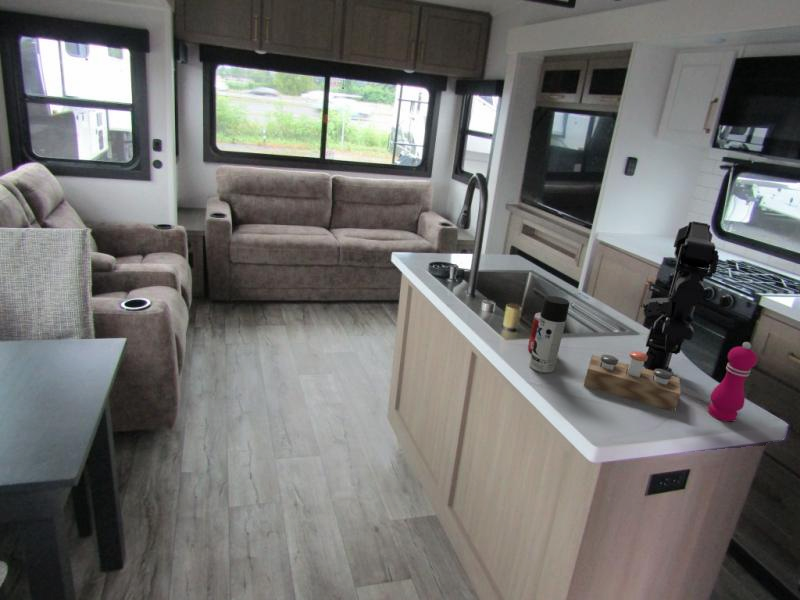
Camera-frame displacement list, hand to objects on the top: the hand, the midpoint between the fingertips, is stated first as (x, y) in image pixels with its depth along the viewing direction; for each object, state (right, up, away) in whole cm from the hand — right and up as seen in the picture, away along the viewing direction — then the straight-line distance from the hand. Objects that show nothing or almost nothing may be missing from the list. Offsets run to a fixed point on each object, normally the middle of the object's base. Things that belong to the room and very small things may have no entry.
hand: (667, 351), depth 138 cm
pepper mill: (+13, -16, 0) cm, 21 cm away
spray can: (-28, -6, +13) cm, 32 cm away
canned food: (-26, -2, +23) cm, 35 cm away
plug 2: (-1, -12, +4) cm, 13 cm away
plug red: (-6, -7, +5) cm, 11 cm away
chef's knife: (+10, -12, +10) cm, 18 cm away
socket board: (-7, -11, +7) cm, 14 cm away
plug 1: (-13, -9, +9) cm, 18 cm away
